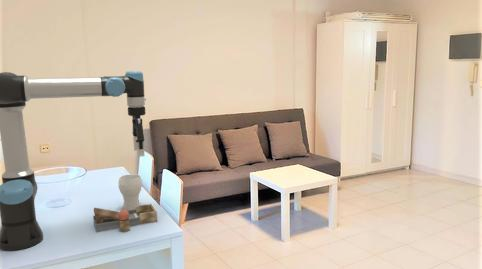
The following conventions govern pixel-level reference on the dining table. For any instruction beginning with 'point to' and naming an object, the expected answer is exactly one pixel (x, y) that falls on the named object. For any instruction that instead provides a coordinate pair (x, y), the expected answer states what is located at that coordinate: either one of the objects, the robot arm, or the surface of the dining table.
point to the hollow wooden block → (124, 225)
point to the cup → (130, 190)
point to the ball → (123, 215)
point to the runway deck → (116, 222)
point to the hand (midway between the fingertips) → (139, 153)
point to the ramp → (105, 215)
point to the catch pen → (146, 213)
